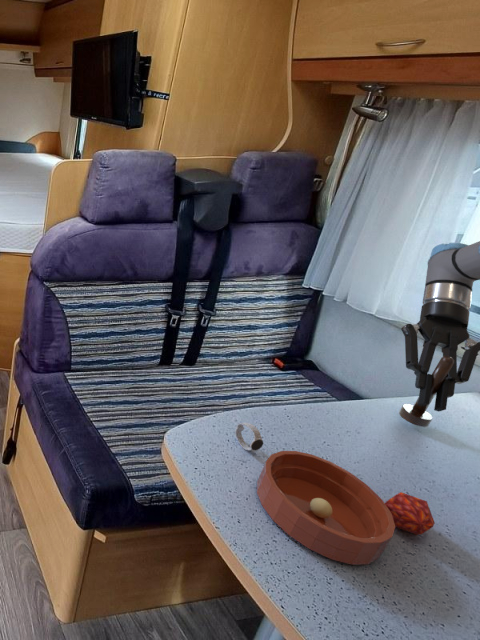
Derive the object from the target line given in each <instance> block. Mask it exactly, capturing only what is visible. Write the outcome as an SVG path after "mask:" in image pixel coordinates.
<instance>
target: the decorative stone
mask: <svg viewBox="0 0 480 640" xmlns="http://www.w3.org/2000/svg"><path fill="white" fill-rule="evenodd" d="M384 503H385V505H386V506H387V507H388V509H389V510H390V512H391V514H392V517H393V520H394V523H395V528H398V529H400V530H402V531H405V532H408V533H410V534H412V535H415V536H419V535H423V534H424V533H426V532H428V531H429V530H430V529H432V528H434V526H435V524H436V523H435V519H434V517H433V514H432V512H431V509H430V506H429V504H428V501H427V500H425V499H422V498H418V497H417V496H414V495H411V494H407V493H405V492H401V491H400V492H398V493H397V494H394V496H392V497H390V498H389V499H388V500H386V501H385V502H384Z"/></svg>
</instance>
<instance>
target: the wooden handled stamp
mask: <svg viewBox="0 0 480 640" xmlns="http://www.w3.org/2000/svg"><path fill="white" fill-rule="evenodd" d="M453 364H454V359H453V358H451V357H449V356H444V357H443V356H442V357H441V358H440V359H439V361H438V363H437V365H436V366H435V368H434V370H433V371H432V373H431V375H433V379H432V386H431V393H430V401H429V404H428V405H425V406H420V405H418V400H419V396H418V397H417V399H416V401H415V403H414V404H411V403H410V404H409V403H405V404H404V403H403V405H402V406H401V408H400V409H399V412H398V414H399V416H400V417H401V418H402V419H404V420H405V421H406V422H407V423H410V424H411V425H414V426H418V427H421V428H426V427H427V428H428V426H429V425H430V424H431V423H432V421H433V419H434V418H433V416H432V414H431V413H430V412H428V411H427V410H428V408H429V406H430V404H431V403H432V402H433V400H434V398H435V397H436V393H437V391H438V389H439V388H440V386H441V384H442V382H443V381H444V379H445V377H446V376H447V374H448V372H449V371H450V369H451V367H452V366H453Z"/></svg>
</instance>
